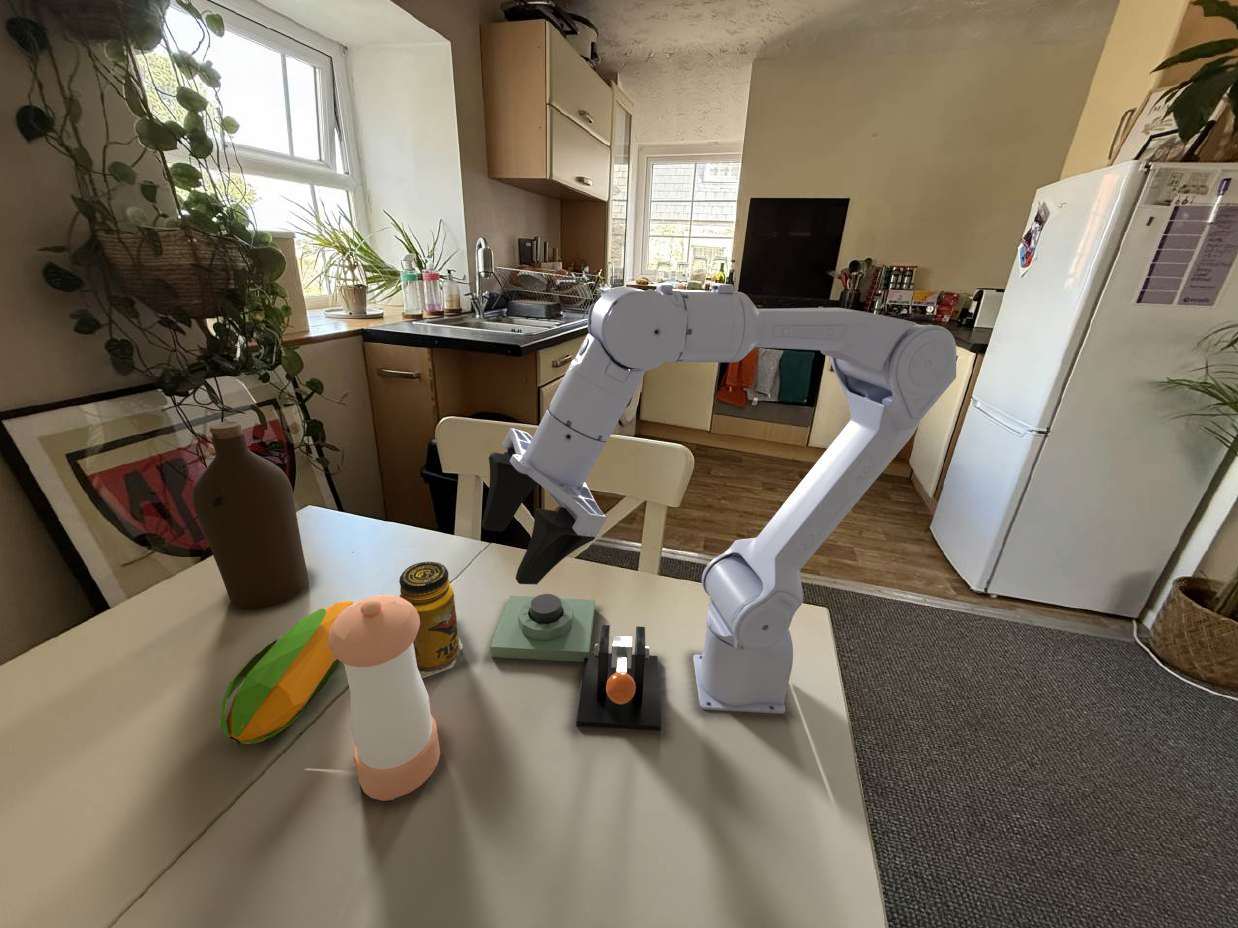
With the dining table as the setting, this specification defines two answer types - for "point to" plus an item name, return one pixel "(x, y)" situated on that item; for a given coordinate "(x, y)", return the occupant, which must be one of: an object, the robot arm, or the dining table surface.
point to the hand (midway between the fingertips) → (508, 553)
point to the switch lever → (621, 671)
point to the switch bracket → (593, 695)
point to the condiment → (432, 616)
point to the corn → (281, 679)
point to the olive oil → (250, 523)
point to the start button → (545, 608)
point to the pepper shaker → (386, 696)
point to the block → (544, 632)
